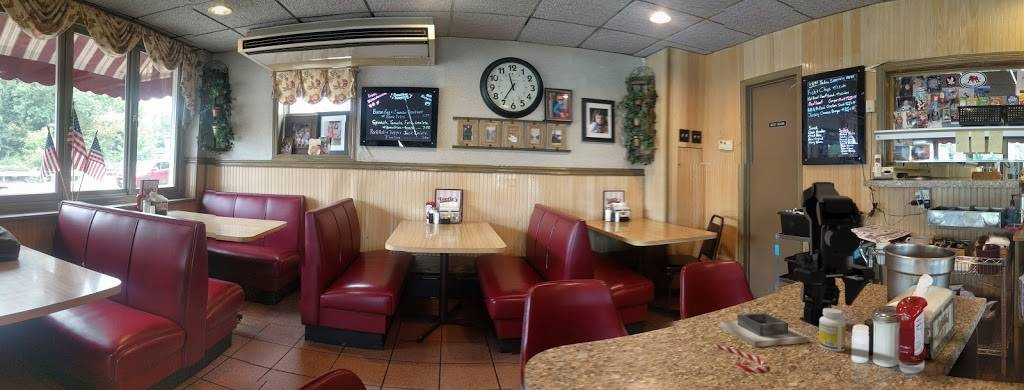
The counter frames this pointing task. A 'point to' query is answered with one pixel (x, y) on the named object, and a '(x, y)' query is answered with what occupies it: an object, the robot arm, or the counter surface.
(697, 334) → the counter surface
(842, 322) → the supplement bottle
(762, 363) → the candy cane
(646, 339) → the counter surface
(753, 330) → the holder board
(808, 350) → the counter surface
